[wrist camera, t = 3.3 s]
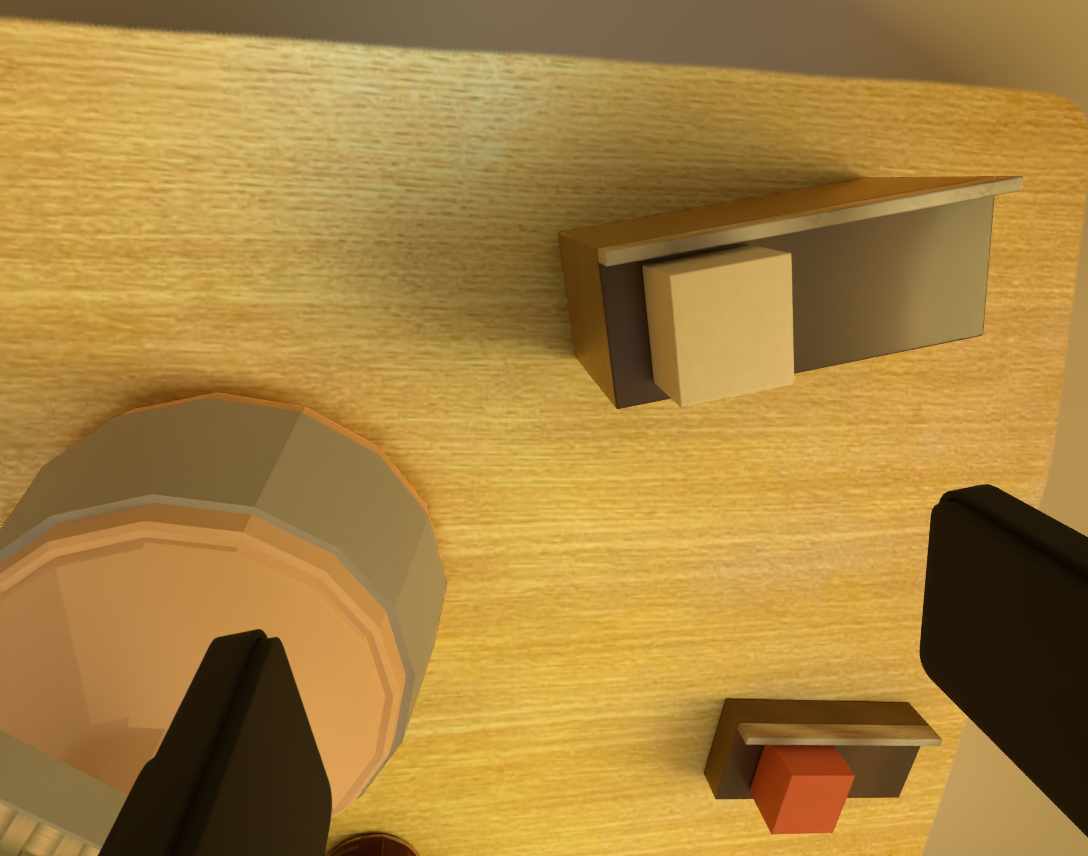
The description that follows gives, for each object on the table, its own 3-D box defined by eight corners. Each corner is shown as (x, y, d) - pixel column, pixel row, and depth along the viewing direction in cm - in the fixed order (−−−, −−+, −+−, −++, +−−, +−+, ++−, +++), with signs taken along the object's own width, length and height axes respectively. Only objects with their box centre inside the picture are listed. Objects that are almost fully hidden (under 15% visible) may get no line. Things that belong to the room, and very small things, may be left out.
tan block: (653, 383, 25) (680, 408, 22) (641, 264, 23) (669, 275, 21) (755, 362, 25) (795, 385, 23) (750, 244, 24) (791, 252, 21)
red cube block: (749, 790, 42) (771, 834, 39) (767, 734, 40) (792, 776, 38) (807, 790, 43) (833, 833, 40) (827, 735, 41) (855, 775, 38)
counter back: (703, 773, 44) (723, 816, 41) (725, 698, 42) (747, 738, 39) (880, 772, 46) (910, 813, 43) (909, 702, 44) (943, 739, 41)
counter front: (575, 358, 33) (624, 420, 24) (557, 232, 31) (604, 251, 22) (864, 302, 34) (1007, 342, 25) (866, 177, 32) (1024, 175, 23)
